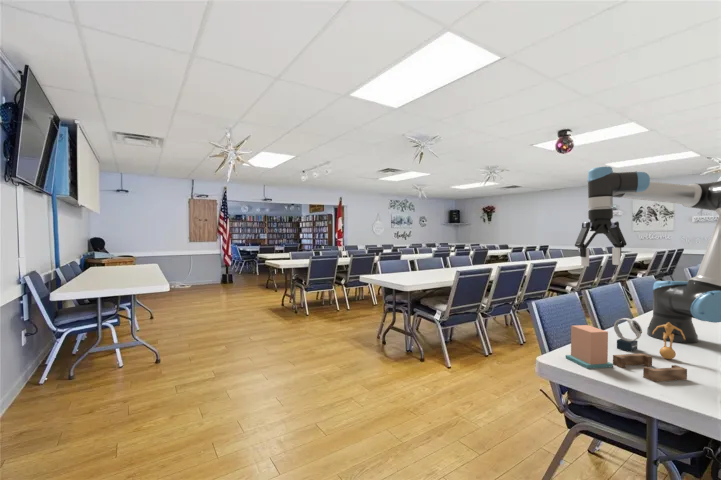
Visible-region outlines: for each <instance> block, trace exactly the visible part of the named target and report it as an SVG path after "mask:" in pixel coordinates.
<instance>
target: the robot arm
mask: <svg viewBox="0 0 721 480" xmlns="http://www.w3.org/2000/svg"><path fill="white" fill-rule="evenodd" d="M587 172H588V173H587V174H588V175H587V195H588V198H587V199H588V200H587V201H588V209H589V210H588V212H587V215H588V220H589V221H583V222H582V223H581V230H580V231H579V233H578V236H577V239H576V241H575V244H574V247H575V248H576V247H577V249H579V253H580V254H579V256H580V258H581V259H580V260H581V262H580V263H581V265H580V266H581V267H590V248H588V247H589V245H590V244H591V243H592V241H593V240H594V238H595V237H596V236H597V235H598V234H601V235H602V234H603V235H605V236H606V238H607V239H608V240H609V242H610V243H611V244H612V246H613V247H611V252H612V253H611V254H612V255H611V256H612V257H611V260H612V262H611V263H612V264H611V265H615V266H621V265H622V264H621V256H622V248H623V249H624V248H625V246H626V245H627V242H626V239H625V237H624V234H623V233H622V230H621V228H620V223H619V221H612V219H613V218H614V210H613V209H612V208H614V199H613V198H621V199H632V200H637V201H638V200H639V201H651V202H658V203H661V202H662V203H668V204H669V203H670V204H678V205H682V206H683V207H685V208H691V209H692V208H693V209H699V210H708V211H714V212H716V213H717V214H718V217H717V218H718V219H717V221H716V223H715V226H714V229H713V231H712V234H711V237H710V240H709V242H708V245H707V247H706V250H705V253H704V255H703V258H702V260H701V262H700V265H699V268H698V271H697V273H696V275H695V276H693V277H691V278H689V279H688V281H687V280H678V281H677V280H658V281H657V280H656V281H654V283H653V286H652V295H653V296H652V299H653V300H652V318H651V320H650V322H649V324H648V327H647V329H646V334H647V335H648V336H650V337H652V338H655V339H659V340H663V341H664V339H663V333H664V332H665V333H666V330H665V327H660V328H658V329H657V330H656V331H655V332H654V334H652V333H653V331H654V330H655V329H656V327H657V326H661V325H665V324H667V323H668V322H669V323H671V324H672V325H673V326H675V327H677V328H679V329H680V330H682V332H683V334H684V336H685V339H684V338H683V336H682V334H681V332H680V331H679V330H676V329H673V331H672V333H671V334H674V339H673V343H682V344H683V343H684V344H694V343H698V342H699V340H698V339H699V336H698V334H697V332H696V329H695V326H694V324H693V323H694V322H693V319H696V320H698V321H701V322H708V323H714V324H715V323H721V180H718V181H711V182H705V183H704V182H703V183H696V182H695V183H694V182H693V183H689V184H681V183H680V184H678V183H669V182H659V181H658V182H657V181H651V178H650V175H649V173H647V172H645V171H628V172H627V171H626V172H623V171H622V172H616V171H615V172H614V170H613V167H611V166H599V167H598V166H597V167H593V168H591V169H589V171H587ZM665 340H666V342H667V341H668V342H670V341H671V340H670V338H669V336H667V338H666V339H665Z"/></svg>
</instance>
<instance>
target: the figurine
mask: <svg viewBox="0 0 721 480" xmlns="http://www.w3.org/2000/svg"><path fill="white" fill-rule="evenodd" d="M660 327H665V330H666V333H665V332H664V333H663V339H664V340H663V342H664V344H663V346H662V347H660V349H659V354H660V357H662V358H664V360H665V359H666V360H673V359H675V357H676V351H675V350H674V349H673V343H674V342H673V339H674V334H671V333H672V331H673V329H676V330H679V331H680V332H681V334H682V336H683V338H684V339H685V336H684V334H683V332H682V330H680V329H679V328H677V327H675V326H673V325H672V324H671V323H669V322H668V323H667V324H665V325H661V326H657V327H656V329H655V330H654V331H653V333H652V334H654V332H655V331H656V330H657V329H658V328H660ZM667 336H669V338H670V340H671V341H669V346H667V340H665V339H666V338H667Z"/></svg>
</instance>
